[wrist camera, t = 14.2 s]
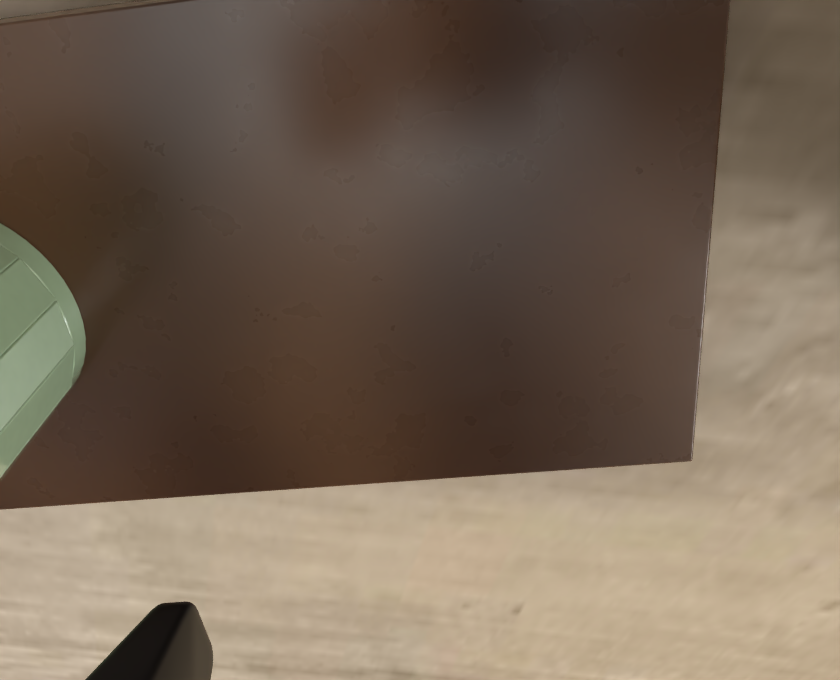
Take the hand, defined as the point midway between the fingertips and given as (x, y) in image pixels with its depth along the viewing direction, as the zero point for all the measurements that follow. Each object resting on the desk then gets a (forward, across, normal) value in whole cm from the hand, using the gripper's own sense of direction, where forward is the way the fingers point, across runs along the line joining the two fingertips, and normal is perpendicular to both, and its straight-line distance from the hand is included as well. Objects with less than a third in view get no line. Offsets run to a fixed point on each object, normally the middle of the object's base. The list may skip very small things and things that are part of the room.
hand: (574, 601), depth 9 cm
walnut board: (+13, +8, +1) cm, 15 cm away
